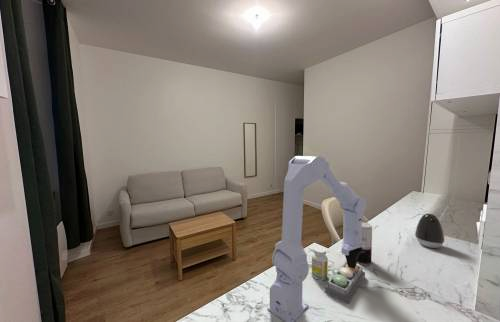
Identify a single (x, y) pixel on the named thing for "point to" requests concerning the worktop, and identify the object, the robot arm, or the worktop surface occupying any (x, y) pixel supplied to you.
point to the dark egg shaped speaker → (429, 231)
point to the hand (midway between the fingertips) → (351, 267)
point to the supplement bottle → (319, 263)
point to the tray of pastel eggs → (351, 288)
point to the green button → (340, 280)
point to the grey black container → (366, 244)
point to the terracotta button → (352, 268)
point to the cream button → (346, 272)
